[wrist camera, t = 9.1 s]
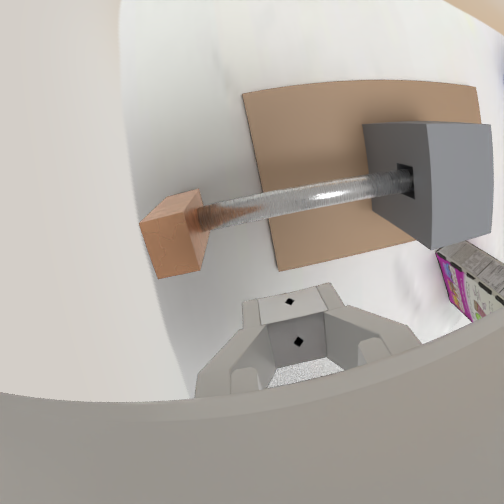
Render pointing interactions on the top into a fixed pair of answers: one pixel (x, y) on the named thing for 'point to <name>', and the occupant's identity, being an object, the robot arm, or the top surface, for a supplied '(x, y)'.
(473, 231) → the bearing stand
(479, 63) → the top surface
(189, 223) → the shaft
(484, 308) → the candy bar box
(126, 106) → the top surface
